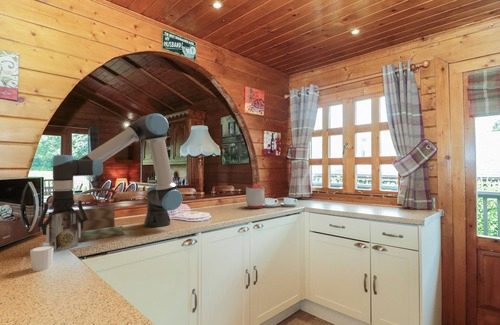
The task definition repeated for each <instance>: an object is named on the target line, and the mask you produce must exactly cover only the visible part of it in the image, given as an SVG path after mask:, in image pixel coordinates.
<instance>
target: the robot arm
mask: <svg viewBox="0 0 500 325" xmlns="http://www.w3.org/2000/svg"><path fill="white" fill-rule="evenodd" d="M168 130H169V121H168V119H167V118H166V117H165V116H164V115H162V114H161V113H149V114H147V115H143V116H141V117H139V118H138V119H136V120H135V121H133V122H132V123H131V124H129V125H128V126H126V128H125V130H123V131H121V132H120V133H119V134H117V135H115V136H114V137H112V138H111V139H109V140H108V141H105V142H104V143H103V144H101V145H99V146H98V147H96V148H95V149H93V150H92V151H90V152H88V153H87V154H85V155H84V156H82V157H80V158H79V159H75V158H74V156H73V155H71V154H69V155H68V154H67V155H66V154H56V155H53V158H52V165H51V166H52V190H53V191H52V202H45V203H43V209H42V212H41V214H40V216H39V219H38V222H37V224H36V226H37V227H38V228H42V229H41V230H42V232H41V233H42V235H43V236H45V243H46V244H49V222H50V221H51V220H52V214H51V215H50V216H49V215H48V216H47V218H46V219H45V217H46V215H47V212H48V211H49V210H48V209H50V208H51V206H52V207H53V210H52V211H51V212H52V213H57V212H58V211H59V212H62V211H68V210H70V211H74V210H75V209H74V208H73V206H74V205H76V206H77V207H78V210H80V212H81V215H82V217H83V219H81V218H80V216H79V215H78V214H77V219H78V221H79V222H77V228H78V238H80V237H81V230H82V229H83V222H84V221H87V220H88V219H87V216H86V214H85V212H84V209H85V208H84V207H83V206H82V204H83V202H82V200H80V199H78V200H74V190H73V189H74V177H89V176H90V177H92V176H93V177H96V176H101V175H103V172H104V164H103V163H104V162H106V161H107V160H109V159H110V158H111V157H112V156H114V155H116V154H117V153H119V152H121V151H123V149H125V148H127V147H128V146H130V145H131V144H132V143H134V142H139V141H140V140H142V139H144V140H145V142H146V143H148V145H149V149H150V154H151V159H152V164H153V169H154V173H155V174H154V175H155V179H156V184H157V185H156V186H150V187H147V190H146V215H145V218H144V221H143V226H145V227H147V228H160V227H166V226H170V225H171V218H170V214H169V212H168V211H175V210H177V209H179V207H180V206H181V204H182V203H183V195H182V194H183V193H182V192H181V191H180V190H179V189H178V186H177V183H175V182H174V179H173V175H172V171H171V170H172V169H171V164H170V160H169V155H168V149H167V145H166V140H167V139H168V134H167V132H168ZM44 220H45V221H44Z"/></svg>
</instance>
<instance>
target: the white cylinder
mask: <svg viewBox="0 0 500 325" xmlns="http://www.w3.org/2000/svg"><path fill="white" fill-rule="evenodd" d="M53 250H54V247H53V246H49V245H46V246H38V247H37V246H36V247H34V248H32V249H30V250H29V254H30V262H31V263H30V264H31V269H32V270H31V271H32V272H40V271H46V270H49V269H51V268H52V267H53V259H54V251H53Z"/></svg>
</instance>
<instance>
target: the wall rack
mask: <svg viewBox="0 0 500 325" xmlns="http://www.w3.org/2000/svg"><path fill="white" fill-rule="evenodd" d="M83 209H84V212H85V214H86V216H87V219H88V220H87V221H84V222H83V229H82V230H81V237H80V238H78V244H80V243H85V242H86V243H87V242H90V241H91V242H92V241H97V240H102V239H109V238H113V237H114V236H115V237H120V236H124V235H125V232H123V226H122V225H116V226H115V222H116V221H115V205H112V206H111V205H110V206H102V207H93V208H83ZM75 210H76V211H77V214H78V215H79V216H80V218H81V219H83V217H82V215H81V212H80V210H79V209H75ZM77 222H79V221H78V219H77Z"/></svg>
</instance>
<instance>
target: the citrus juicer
mask: <svg viewBox="0 0 500 325" xmlns="http://www.w3.org/2000/svg"><path fill="white" fill-rule="evenodd" d="M245 199H246V200H245V201H246V205H247V207H248V208H249V209H253V210H257V209H262V208H263V207H264V204H265V186H259V185H258V184H257V183H254V184H252V186H251V187H248V186H245Z"/></svg>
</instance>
